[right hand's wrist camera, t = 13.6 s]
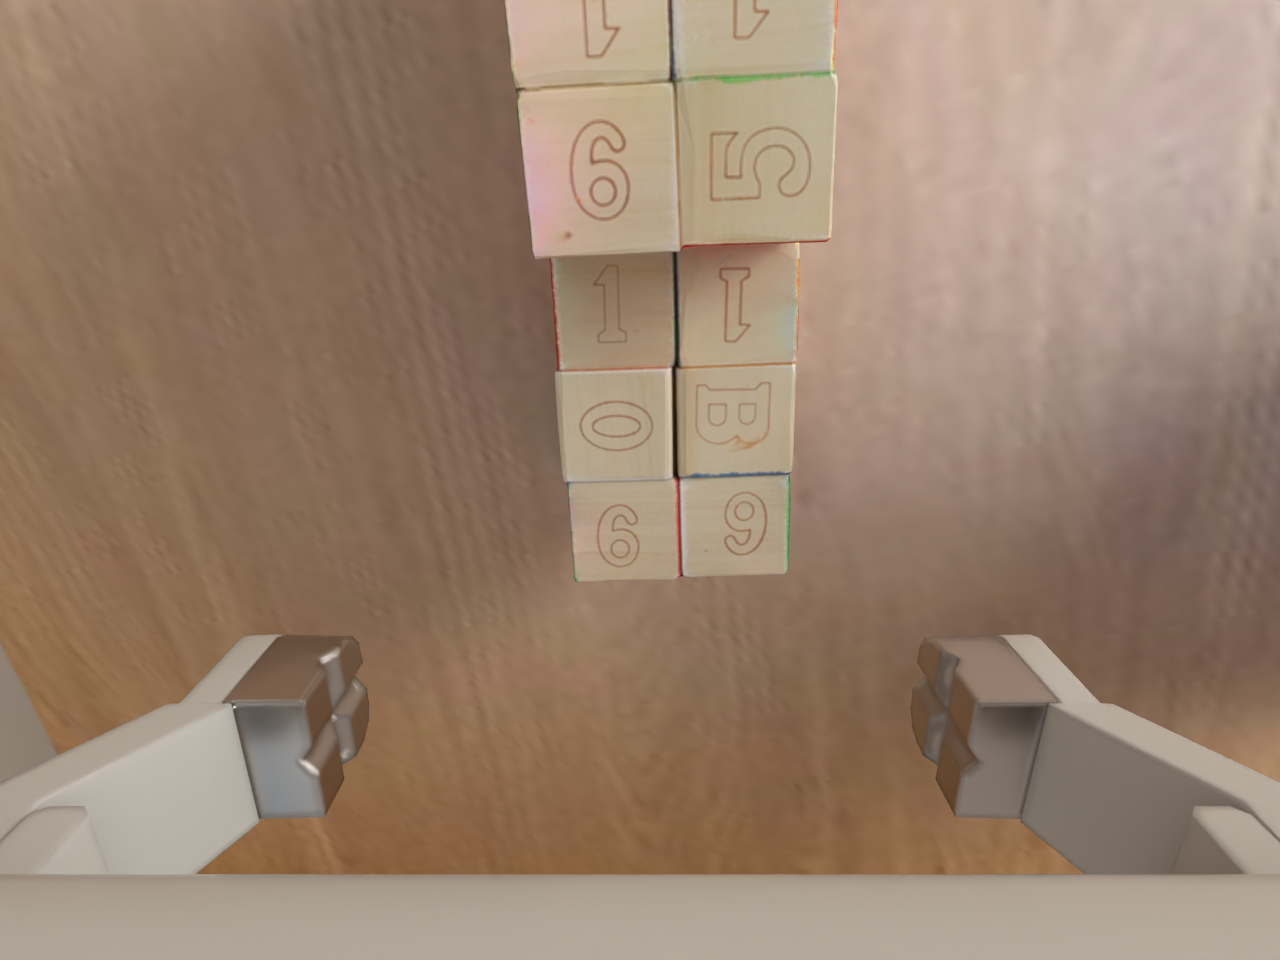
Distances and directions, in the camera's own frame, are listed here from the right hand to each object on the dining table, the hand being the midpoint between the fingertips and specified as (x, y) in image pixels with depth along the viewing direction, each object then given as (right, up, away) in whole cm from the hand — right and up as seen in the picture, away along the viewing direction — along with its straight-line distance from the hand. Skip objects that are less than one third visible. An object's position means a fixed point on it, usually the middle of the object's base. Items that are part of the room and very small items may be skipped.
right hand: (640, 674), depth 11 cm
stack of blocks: (+1, +13, +15) cm, 20 cm away
